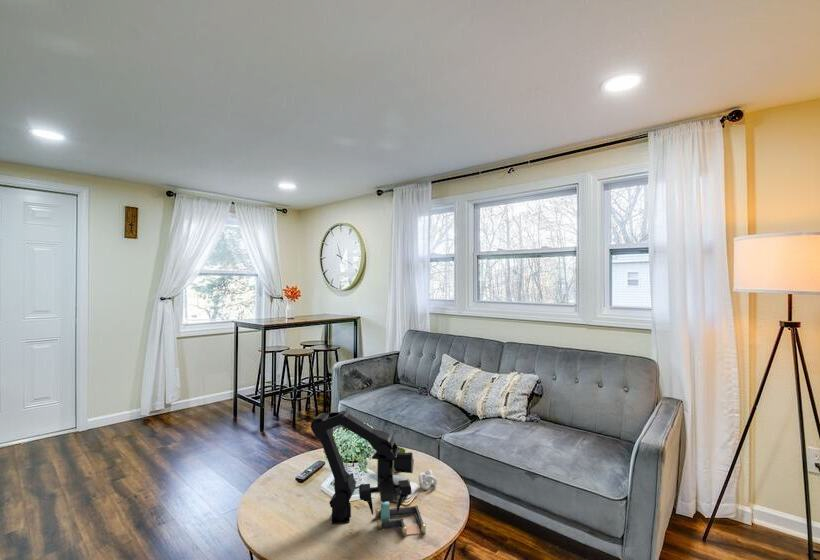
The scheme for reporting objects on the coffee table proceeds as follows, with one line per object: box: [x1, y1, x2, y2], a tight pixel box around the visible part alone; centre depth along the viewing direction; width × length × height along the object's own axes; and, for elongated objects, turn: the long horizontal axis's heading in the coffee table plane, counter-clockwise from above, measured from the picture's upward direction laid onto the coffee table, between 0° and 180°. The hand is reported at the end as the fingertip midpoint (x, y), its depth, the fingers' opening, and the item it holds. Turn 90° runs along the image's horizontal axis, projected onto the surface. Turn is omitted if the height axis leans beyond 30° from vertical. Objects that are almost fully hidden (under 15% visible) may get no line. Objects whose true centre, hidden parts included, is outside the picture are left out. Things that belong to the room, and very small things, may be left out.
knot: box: [418, 469, 438, 491], centre depth 167 cm, size 8×8×6 cm
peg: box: [380, 501, 391, 521], centre depth 142 cm, size 3×3×7 cm
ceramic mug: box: [393, 474, 411, 485], centre depth 161 cm, size 11×8×8 cm
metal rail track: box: [374, 505, 427, 538], centre depth 140 cm, size 16×14×3 cm
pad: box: [404, 523, 422, 536], centre depth 138 cm, size 5×5×1 cm
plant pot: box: [391, 446, 407, 473], centre depth 181 cm, size 9×9×9 cm
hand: (384, 512), depth 142 cm, fingers open, 9 cm apart
